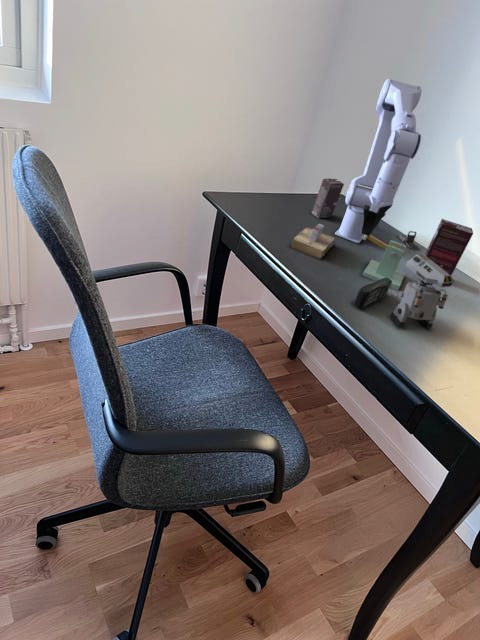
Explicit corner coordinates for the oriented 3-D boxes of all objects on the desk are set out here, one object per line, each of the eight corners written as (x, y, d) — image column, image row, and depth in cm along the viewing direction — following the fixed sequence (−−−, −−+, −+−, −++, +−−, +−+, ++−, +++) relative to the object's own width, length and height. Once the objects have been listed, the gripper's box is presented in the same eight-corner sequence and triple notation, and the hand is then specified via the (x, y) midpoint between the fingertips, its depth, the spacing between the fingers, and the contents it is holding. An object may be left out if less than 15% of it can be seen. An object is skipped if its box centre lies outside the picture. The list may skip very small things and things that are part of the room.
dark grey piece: (368, 294, 107) (398, 277, 117) (357, 287, 108) (388, 271, 118) (360, 311, 110) (390, 294, 120) (350, 305, 111) (380, 288, 121)
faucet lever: (360, 241, 124) (365, 233, 122) (364, 235, 128) (369, 227, 127) (394, 261, 122) (399, 254, 121) (398, 254, 127) (403, 247, 125)
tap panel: (303, 234, 140) (306, 226, 138) (333, 246, 137) (336, 238, 136) (289, 246, 130) (292, 238, 129) (321, 259, 128) (324, 251, 126)
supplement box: (446, 277, 137) (473, 228, 128) (446, 284, 133) (474, 233, 124) (417, 267, 138) (441, 217, 129) (416, 274, 134) (442, 223, 125)
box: (319, 219, 153) (331, 183, 146) (310, 213, 156) (322, 177, 149) (332, 218, 157) (344, 183, 150) (324, 212, 159) (335, 178, 153)
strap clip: (397, 236, 156) (402, 225, 153) (405, 237, 157) (410, 225, 154) (410, 249, 149) (416, 237, 147) (418, 249, 150) (424, 237, 148)
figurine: (409, 305, 117) (436, 252, 109) (433, 333, 108) (465, 278, 100) (378, 303, 115) (402, 248, 106) (400, 332, 106) (429, 275, 97)
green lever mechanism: (362, 275, 125) (375, 244, 120) (370, 262, 133) (382, 233, 128) (398, 290, 123) (413, 259, 118) (404, 276, 131) (418, 246, 126)
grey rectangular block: (315, 234, 135) (319, 222, 133) (320, 236, 134) (324, 224, 132) (309, 240, 131) (313, 228, 128) (314, 242, 130) (318, 230, 128)
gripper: (379, 170, 124) (360, 217, 131) (367, 181, 112) (347, 232, 120) (404, 179, 122) (384, 226, 129) (395, 191, 110) (373, 242, 118)
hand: (368, 230), depth 124 cm, fingers open, 7 cm apart
